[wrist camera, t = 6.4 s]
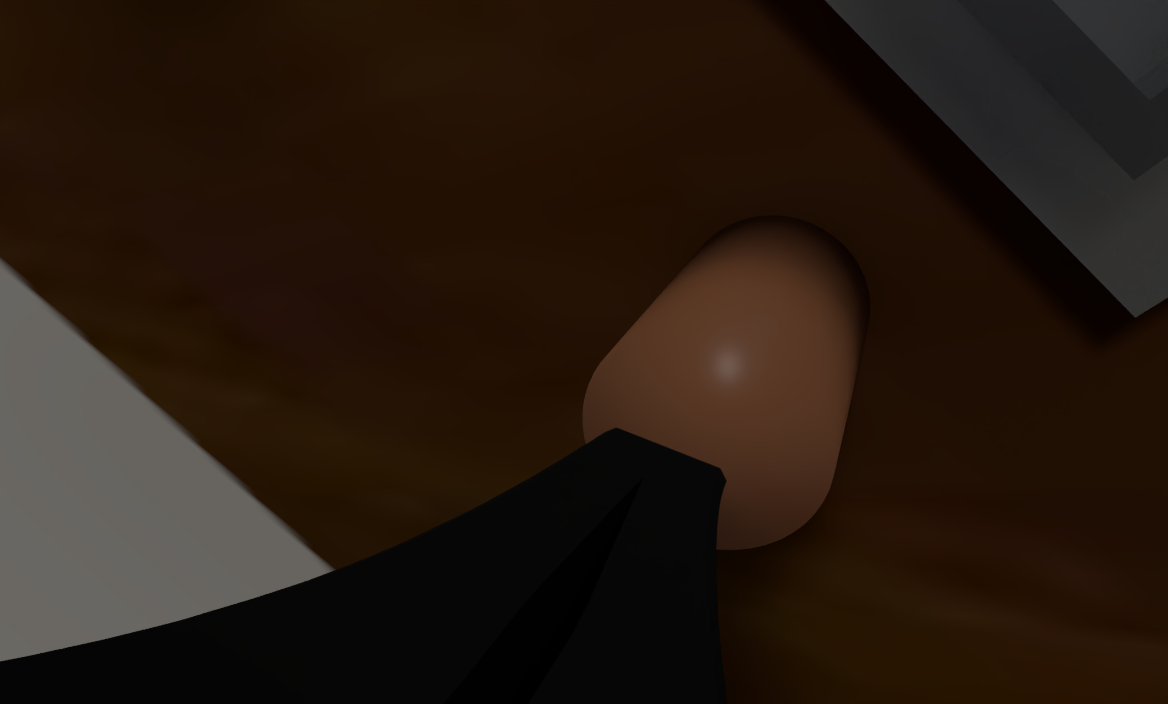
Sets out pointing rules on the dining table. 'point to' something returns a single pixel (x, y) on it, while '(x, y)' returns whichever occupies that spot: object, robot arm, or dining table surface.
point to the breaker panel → (1051, 114)
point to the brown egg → (746, 371)
